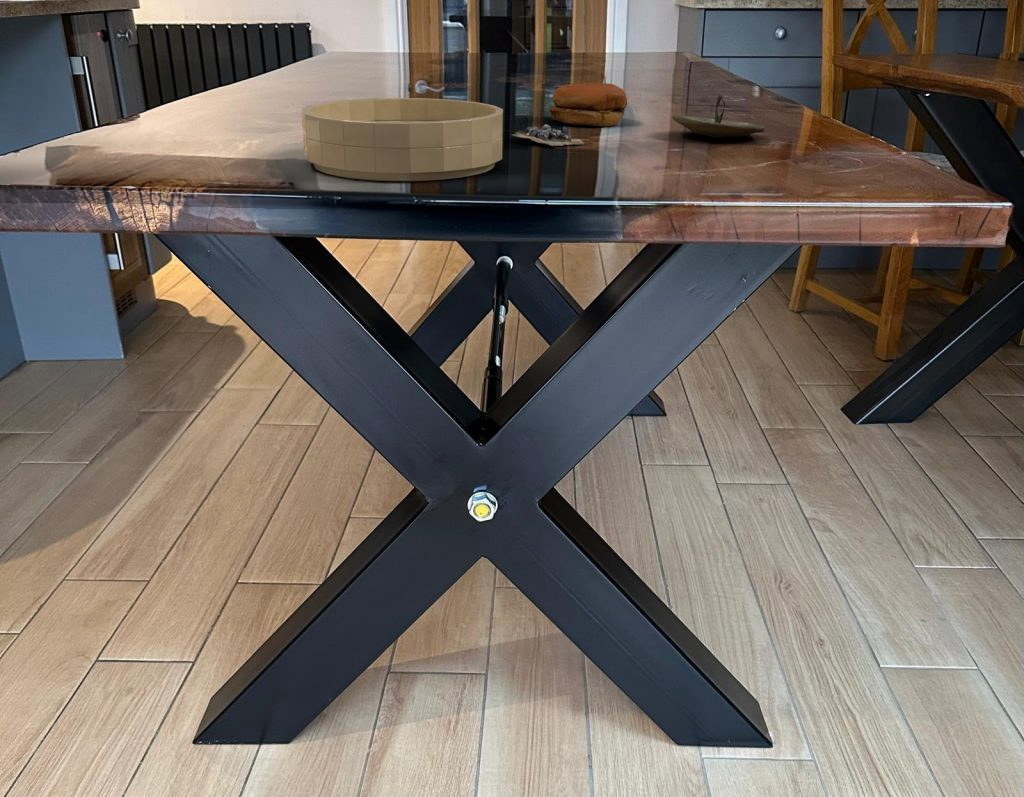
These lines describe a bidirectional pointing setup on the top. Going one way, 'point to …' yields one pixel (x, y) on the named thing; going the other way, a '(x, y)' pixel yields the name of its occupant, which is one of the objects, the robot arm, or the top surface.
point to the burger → (589, 104)
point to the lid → (718, 125)
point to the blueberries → (548, 136)
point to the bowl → (403, 138)
